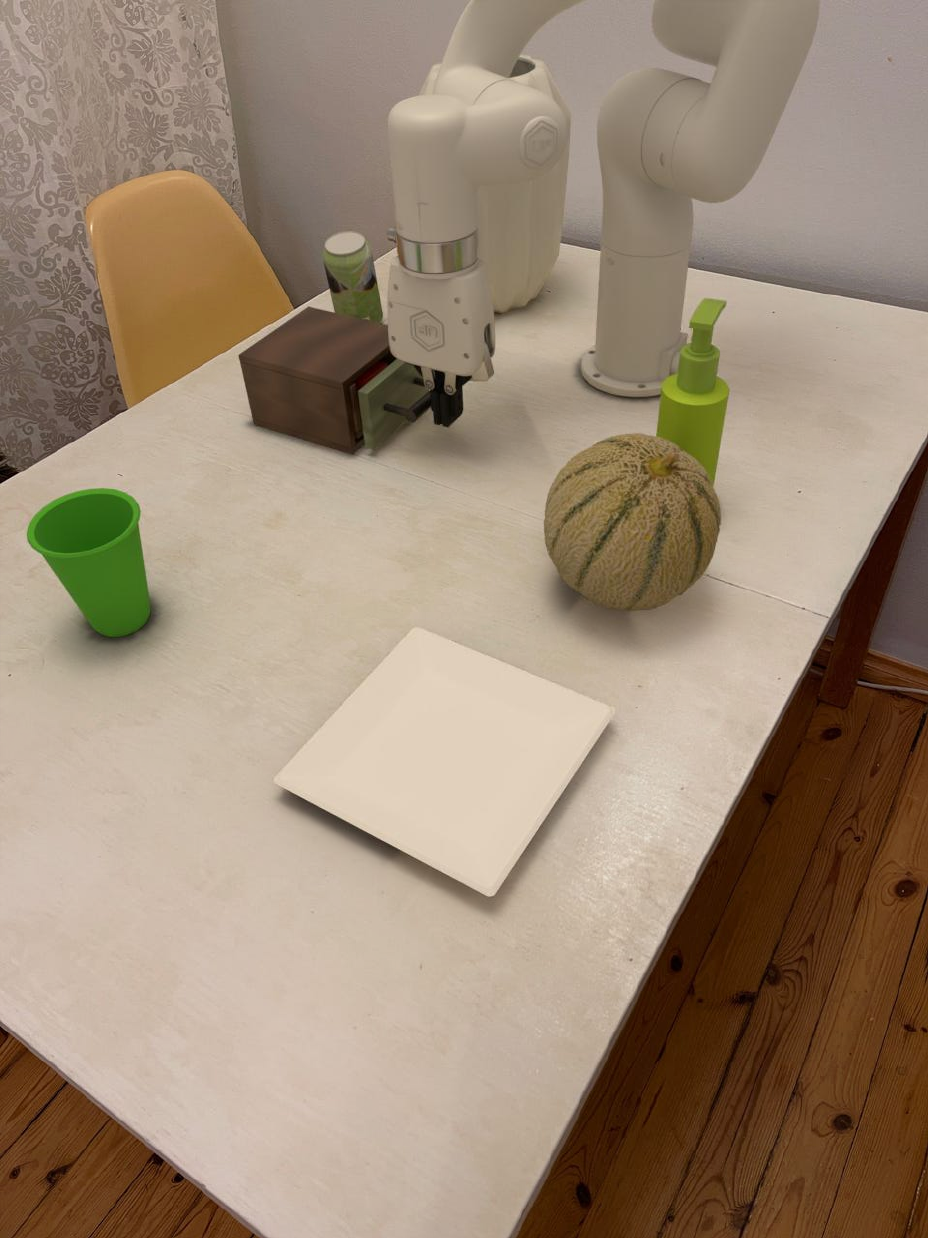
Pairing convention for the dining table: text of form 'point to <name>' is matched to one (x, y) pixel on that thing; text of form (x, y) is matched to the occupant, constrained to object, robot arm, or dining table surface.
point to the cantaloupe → (632, 522)
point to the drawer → (388, 401)
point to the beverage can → (352, 276)
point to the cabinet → (312, 375)
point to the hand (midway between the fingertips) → (447, 419)
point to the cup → (96, 556)
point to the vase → (521, 210)
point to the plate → (449, 756)
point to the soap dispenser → (696, 393)
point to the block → (368, 377)
